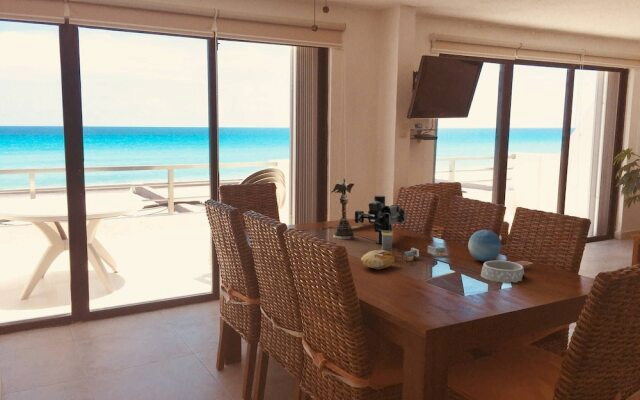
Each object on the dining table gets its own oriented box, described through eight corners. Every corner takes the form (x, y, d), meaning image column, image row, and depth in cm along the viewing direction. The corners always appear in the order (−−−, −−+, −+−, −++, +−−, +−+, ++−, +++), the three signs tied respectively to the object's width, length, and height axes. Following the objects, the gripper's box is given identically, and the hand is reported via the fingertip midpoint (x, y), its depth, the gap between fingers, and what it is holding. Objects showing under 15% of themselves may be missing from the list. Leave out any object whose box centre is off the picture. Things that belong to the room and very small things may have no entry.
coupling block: (381, 256, 269) (381, 230, 267) (391, 257, 268) (392, 230, 267) (381, 259, 264) (382, 232, 262) (392, 259, 263) (392, 232, 262)
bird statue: (327, 234, 323) (327, 174, 319) (348, 233, 326) (349, 174, 321) (333, 239, 307) (333, 177, 302) (355, 238, 310) (356, 177, 305)
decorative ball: (464, 262, 257) (465, 231, 255) (471, 256, 270) (472, 226, 268) (497, 266, 250) (499, 234, 248) (503, 259, 264) (504, 228, 261)
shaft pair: (400, 258, 265) (400, 249, 264) (439, 253, 275) (439, 244, 274) (407, 261, 260) (407, 251, 259) (446, 256, 270) (447, 246, 269)
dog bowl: (527, 274, 238) (528, 262, 238) (519, 285, 223) (519, 272, 222) (487, 269, 247) (488, 257, 246) (476, 279, 231) (477, 267, 231)
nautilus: (403, 264, 257) (410, 274, 242) (358, 262, 255) (362, 272, 240) (404, 248, 255) (412, 257, 241) (359, 245, 254) (364, 255, 239)
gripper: (361, 199, 291) (349, 203, 277) (394, 201, 283) (384, 205, 269) (360, 220, 292) (349, 225, 279) (394, 223, 284) (383, 228, 270)
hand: (366, 220), depth 274 cm, fingers open, 9 cm apart
